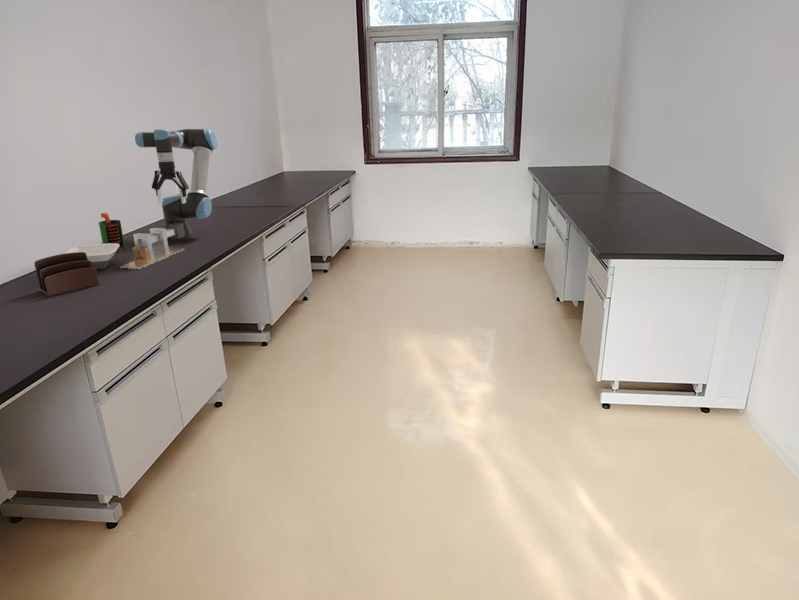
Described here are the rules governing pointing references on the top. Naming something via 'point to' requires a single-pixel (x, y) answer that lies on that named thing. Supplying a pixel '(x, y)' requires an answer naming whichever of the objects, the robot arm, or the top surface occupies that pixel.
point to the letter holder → (65, 273)
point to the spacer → (136, 257)
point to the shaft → (169, 233)
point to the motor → (111, 232)
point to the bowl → (97, 253)
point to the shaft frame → (156, 253)
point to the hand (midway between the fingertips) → (172, 202)
